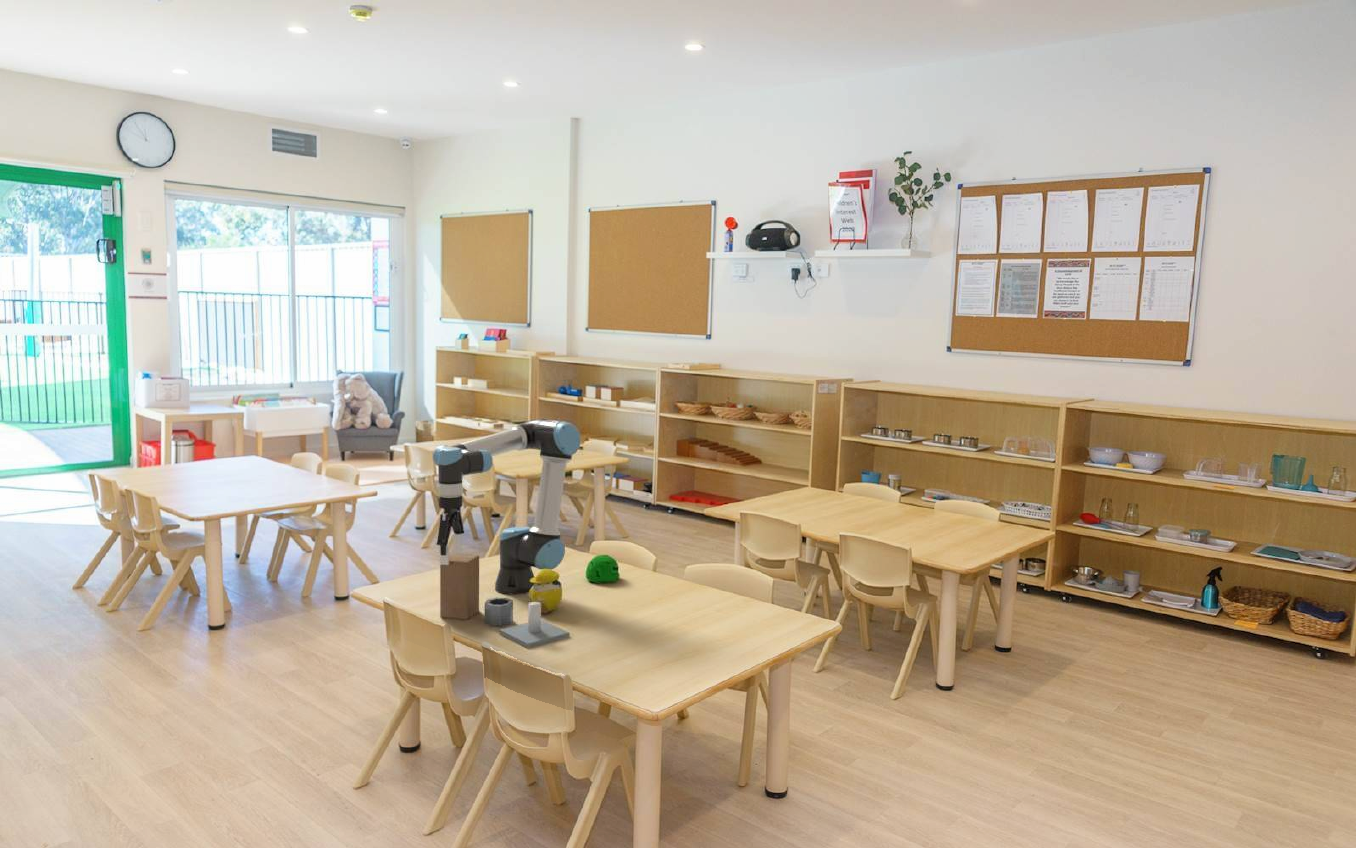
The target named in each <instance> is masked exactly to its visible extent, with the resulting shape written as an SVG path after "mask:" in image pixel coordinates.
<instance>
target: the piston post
mask: <svg viewBox="0 0 1356 848" xmlns="http://www.w3.org/2000/svg"><path fill="white" fill-rule="evenodd" d="M527 613H528V617H527V618H528V622H526V623H521V624H517V625H513V626H509V627H505V628H501V629H499V635H500V636H502V637H504V638H506V639H508V640H510V641H512V642H514V643H517V644H518V645H521V646H522V647H524V648H527V649H530V648H534V647H538V646H541V645H544V644H548V643H552V642H557V641H559V640H564V639H568V638H570V634H571V633H570V632H569V631H567V630H566V629H564V628H560V627H558V626H556V625H554V624H552V623H550V622H548V621H545V620H543V619H542V612H541V603H539V602H531V603H529V602H528V612H527Z"/></svg>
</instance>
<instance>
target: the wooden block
mask: <svg viewBox="0 0 1356 848" xmlns="http://www.w3.org/2000/svg"><path fill="white" fill-rule="evenodd" d="M439 565H440V564H439ZM439 568H440V569H439V571H440V572H439V573H440V574H439V576H440V577H439V578H440V579H439V582H440V583H439V584H440V585H439V586H440V587H439V588H440V589H439V593H440V595H439V597H440V599H439V601H440V602H439V603H440V604H439V605H440V606H439V608H440V609H439V612H440V613H439V616H440V618H446V619H447V618H448V619H457V620H465V621H466V620H468V619H470V618H472V616H474V615H476V614H477V613H478V612H479V611H480V555H479V554H469V553H461V554H458V553H453V552H452V553H449V565H440V566H439Z"/></svg>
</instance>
